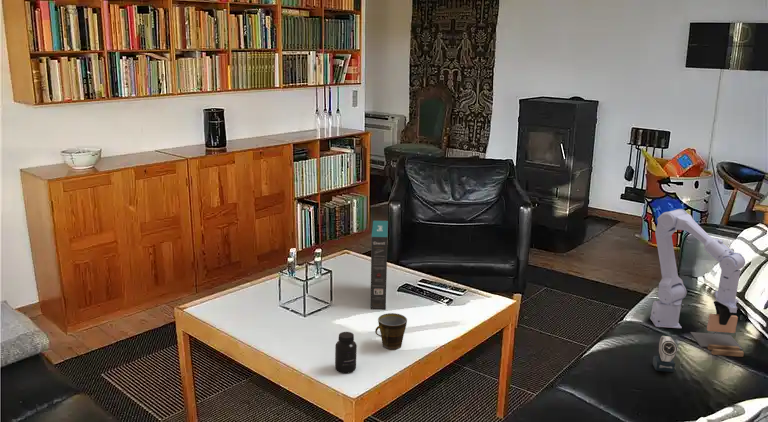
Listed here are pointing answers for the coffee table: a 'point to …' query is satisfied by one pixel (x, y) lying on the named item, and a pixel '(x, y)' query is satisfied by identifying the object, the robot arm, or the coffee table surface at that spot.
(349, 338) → the supplement bottle
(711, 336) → the mat
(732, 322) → the tile
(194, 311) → the coffee table surface
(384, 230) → the cake mix box
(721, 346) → the rack
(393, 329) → the ceramic cup
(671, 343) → the watch
